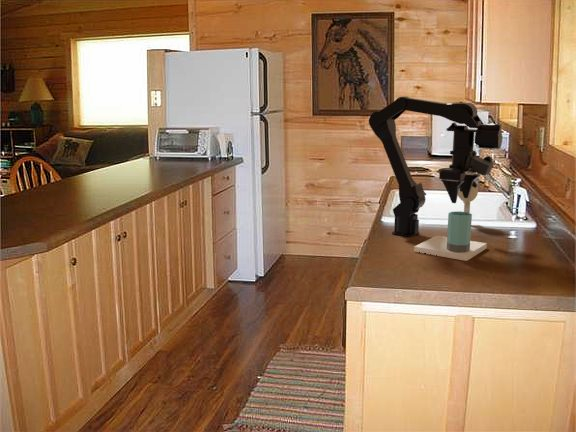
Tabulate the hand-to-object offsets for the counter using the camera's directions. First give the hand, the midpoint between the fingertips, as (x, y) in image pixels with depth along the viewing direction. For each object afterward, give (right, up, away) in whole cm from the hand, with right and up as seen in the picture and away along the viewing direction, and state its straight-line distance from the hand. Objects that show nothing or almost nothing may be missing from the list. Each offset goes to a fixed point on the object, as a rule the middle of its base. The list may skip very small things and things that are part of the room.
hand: (460, 200), depth 180 cm
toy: (+8, -7, +23) cm, 26 cm away
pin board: (-5, -14, -8) cm, 17 cm away
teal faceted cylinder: (-4, -14, -13) cm, 19 cm away
